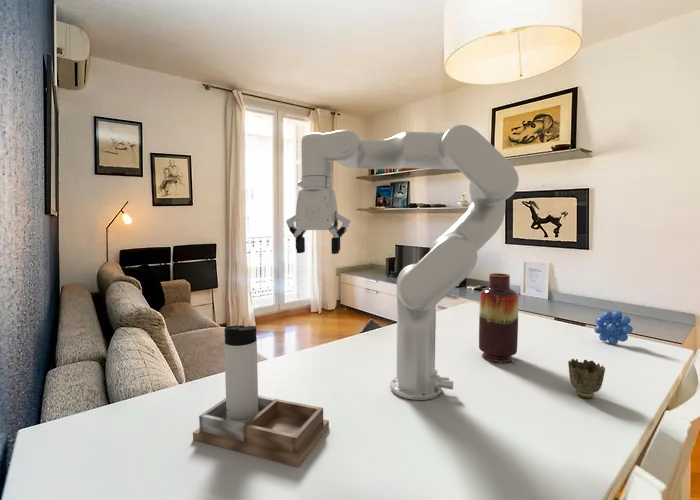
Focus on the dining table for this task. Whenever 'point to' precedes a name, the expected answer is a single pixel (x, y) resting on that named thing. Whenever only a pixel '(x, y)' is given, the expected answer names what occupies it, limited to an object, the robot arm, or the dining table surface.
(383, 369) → the dining table surface
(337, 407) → the dining table surface
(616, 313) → the grapes
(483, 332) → the vase
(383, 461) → the dining table surface
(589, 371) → the cup
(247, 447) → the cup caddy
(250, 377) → the travel mug
